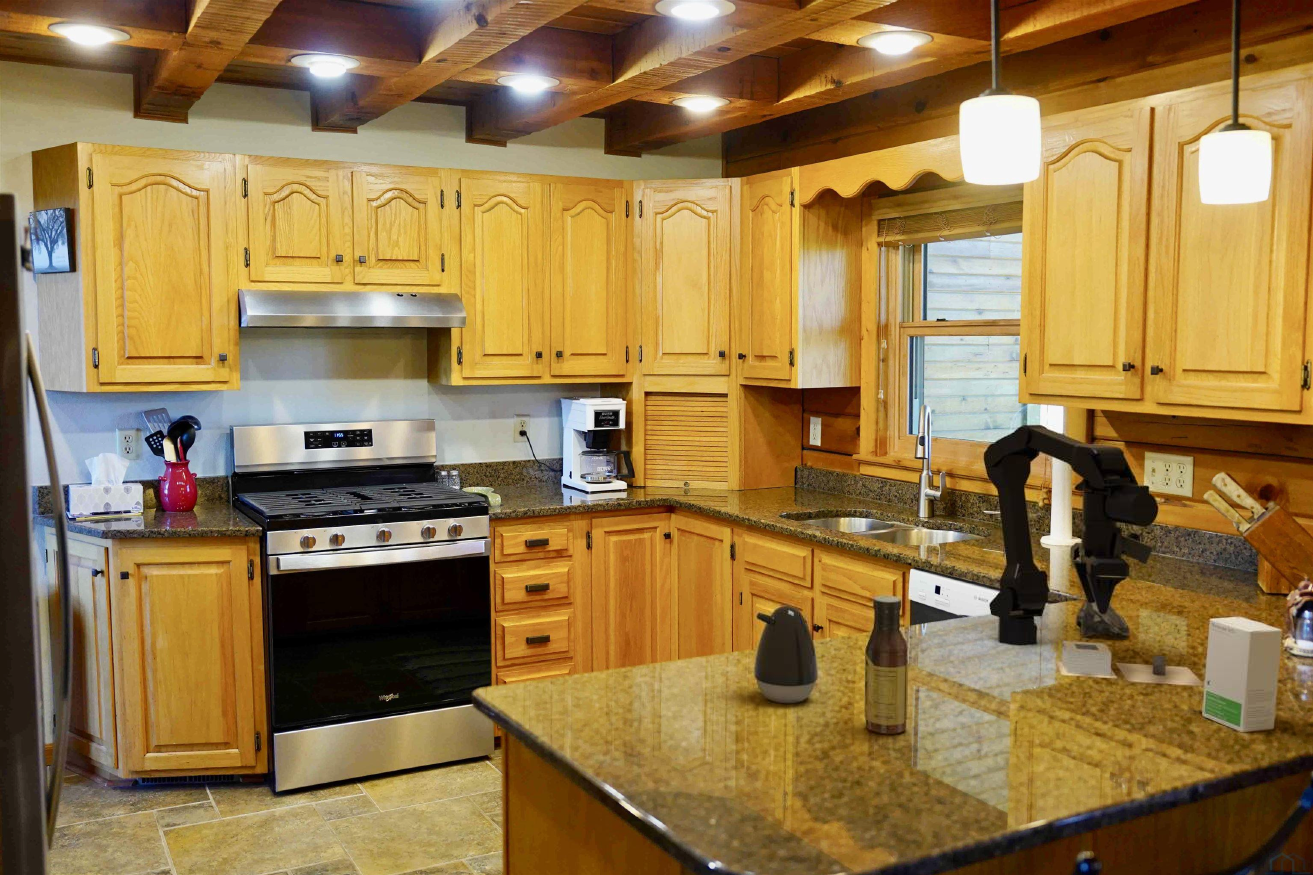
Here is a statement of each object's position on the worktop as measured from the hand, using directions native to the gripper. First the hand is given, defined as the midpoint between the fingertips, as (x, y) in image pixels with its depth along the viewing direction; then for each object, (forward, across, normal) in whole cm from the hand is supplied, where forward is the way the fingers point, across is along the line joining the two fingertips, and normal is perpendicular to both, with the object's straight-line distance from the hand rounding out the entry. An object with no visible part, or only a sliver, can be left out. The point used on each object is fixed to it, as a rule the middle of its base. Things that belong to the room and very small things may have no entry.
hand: (1096, 608), depth 202 cm
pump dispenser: (+12, -24, +53) cm, 59 cm away
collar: (+11, 0, +2) cm, 11 cm away
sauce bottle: (+12, -37, +37) cm, 54 cm away
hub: (+12, -1, -10) cm, 16 cm away
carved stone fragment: (+12, +32, -8) cm, 36 cm away
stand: (+12, 0, +2) cm, 12 cm away
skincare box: (+12, -23, -16) cm, 31 cm away
